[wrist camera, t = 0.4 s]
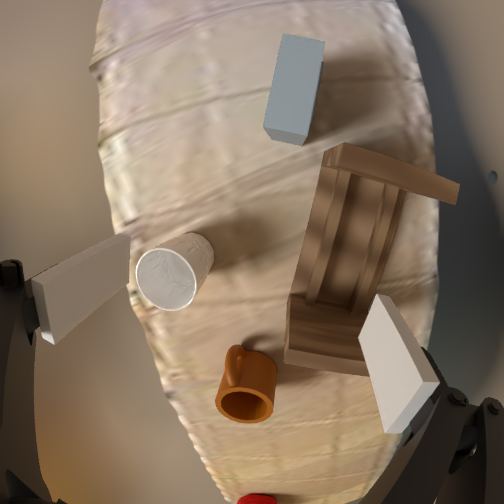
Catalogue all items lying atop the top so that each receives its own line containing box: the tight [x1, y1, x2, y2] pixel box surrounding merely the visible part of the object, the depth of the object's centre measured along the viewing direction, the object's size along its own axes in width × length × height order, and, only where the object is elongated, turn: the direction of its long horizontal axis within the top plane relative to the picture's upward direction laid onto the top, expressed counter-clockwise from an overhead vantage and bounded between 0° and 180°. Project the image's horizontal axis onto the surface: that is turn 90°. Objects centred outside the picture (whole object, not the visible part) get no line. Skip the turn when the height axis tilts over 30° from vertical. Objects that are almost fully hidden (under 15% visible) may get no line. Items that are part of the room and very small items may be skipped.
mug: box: [215, 345, 277, 423], centre depth 41 cm, size 9×12×9 cm
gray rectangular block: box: [263, 34, 325, 146], centre depth 27 cm, size 10×4×12 cm, turn 169°
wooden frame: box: [284, 143, 460, 377], centre depth 30 cm, size 22×12×14 cm, turn 169°
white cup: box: [136, 232, 214, 311], centre depth 36 cm, size 8×8×10 cm
